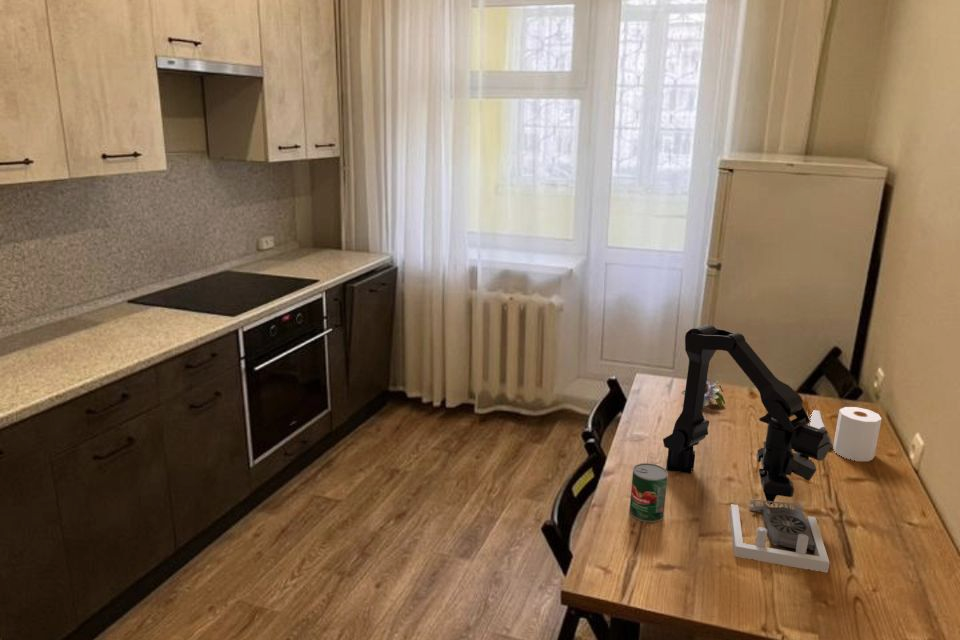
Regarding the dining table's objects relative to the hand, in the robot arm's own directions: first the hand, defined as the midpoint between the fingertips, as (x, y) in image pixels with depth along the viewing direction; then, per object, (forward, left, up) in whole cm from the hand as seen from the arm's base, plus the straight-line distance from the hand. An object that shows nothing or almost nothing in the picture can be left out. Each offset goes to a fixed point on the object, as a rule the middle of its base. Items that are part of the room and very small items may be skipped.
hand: (769, 503), depth 165 cm
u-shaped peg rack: (0, -13, -2) cm, 13 cm away
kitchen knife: (+19, +53, -2) cm, 57 cm away
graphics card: (+2, -9, -2) cm, 9 cm away
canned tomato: (-28, -11, -2) cm, 30 cm away
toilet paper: (+26, +39, -2) cm, 47 cm away
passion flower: (-14, +63, -2) cm, 64 cm away
